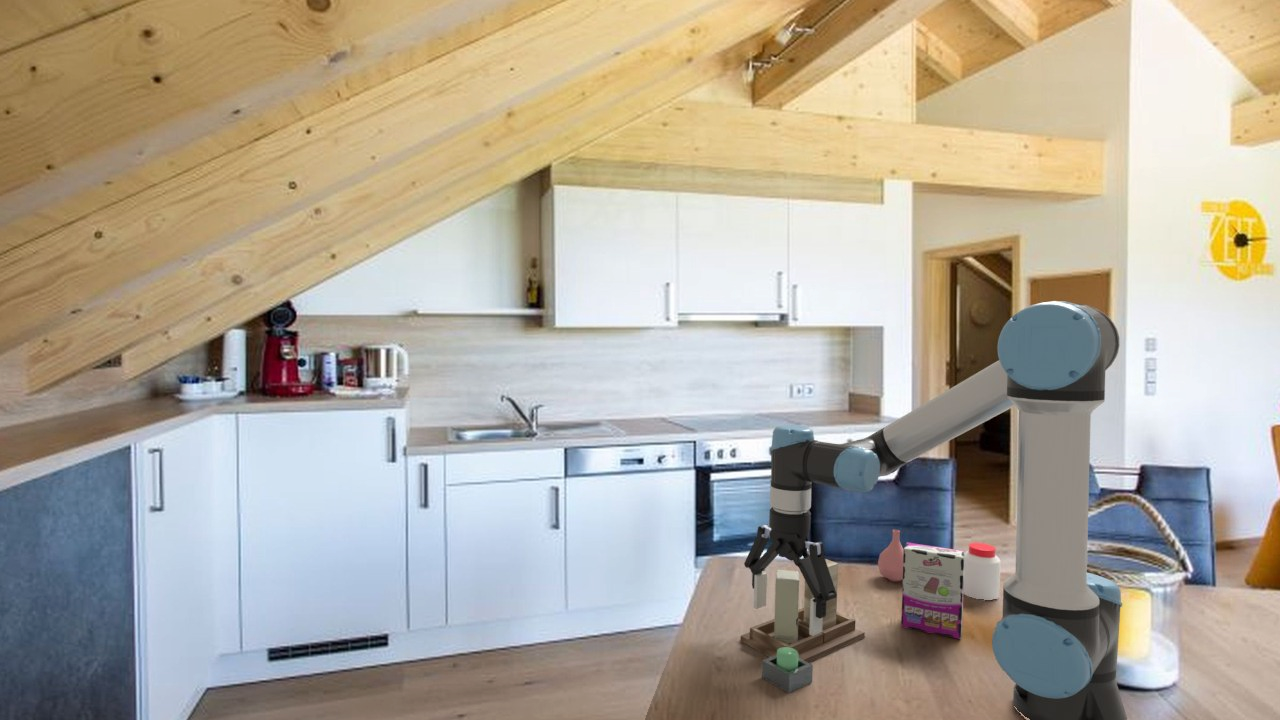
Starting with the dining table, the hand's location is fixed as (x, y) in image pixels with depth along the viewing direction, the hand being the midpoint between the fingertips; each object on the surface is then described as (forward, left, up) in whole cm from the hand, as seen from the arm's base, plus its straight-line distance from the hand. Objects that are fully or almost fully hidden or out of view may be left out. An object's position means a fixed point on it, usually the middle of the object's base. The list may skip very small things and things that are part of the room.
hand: (786, 619), depth 127 cm
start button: (-8, +9, -4) cm, 13 cm away
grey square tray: (-8, +9, -5) cm, 13 cm away
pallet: (0, -5, -5) cm, 7 cm away
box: (0, 0, -4) cm, 4 cm away
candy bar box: (-12, -30, -5) cm, 33 cm away
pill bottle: (-9, -56, -5) cm, 57 cm away
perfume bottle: (+7, -47, -5) cm, 48 cm away
